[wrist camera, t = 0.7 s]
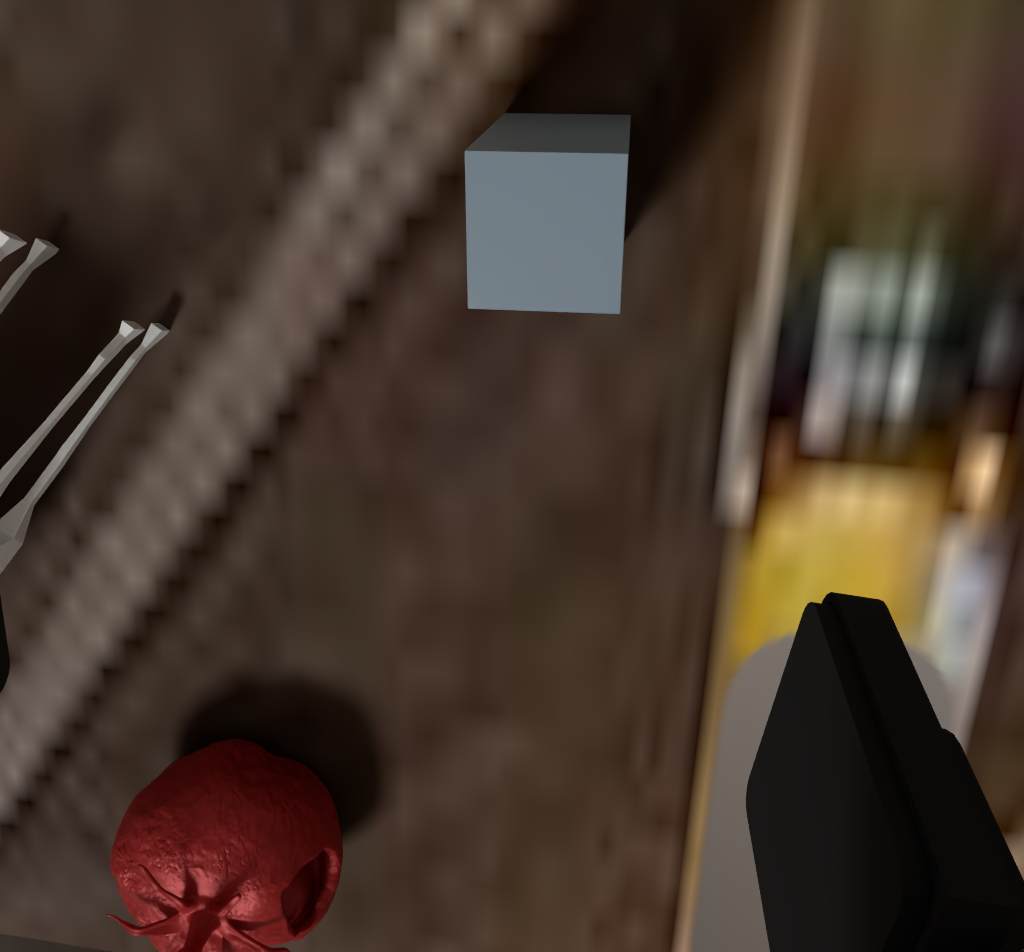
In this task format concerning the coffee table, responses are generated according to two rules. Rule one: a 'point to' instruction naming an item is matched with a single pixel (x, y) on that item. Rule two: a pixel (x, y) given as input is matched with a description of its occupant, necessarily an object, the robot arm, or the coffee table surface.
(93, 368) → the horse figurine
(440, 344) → the coffee table surface
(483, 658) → the coffee table surface
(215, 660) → the coffee table surface
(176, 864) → the pomegranate
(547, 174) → the grey rectangular block
